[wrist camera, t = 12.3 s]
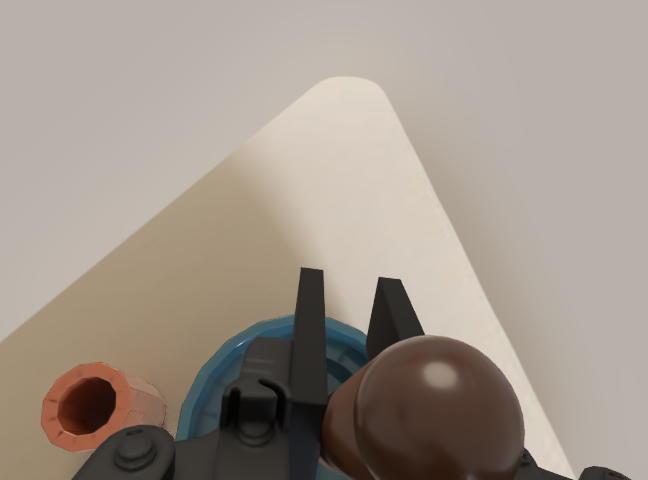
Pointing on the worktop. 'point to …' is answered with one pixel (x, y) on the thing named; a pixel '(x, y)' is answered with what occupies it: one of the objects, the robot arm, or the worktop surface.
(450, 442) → the stirring stick
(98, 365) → the crock
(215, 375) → the bowl
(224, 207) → the worktop surface
